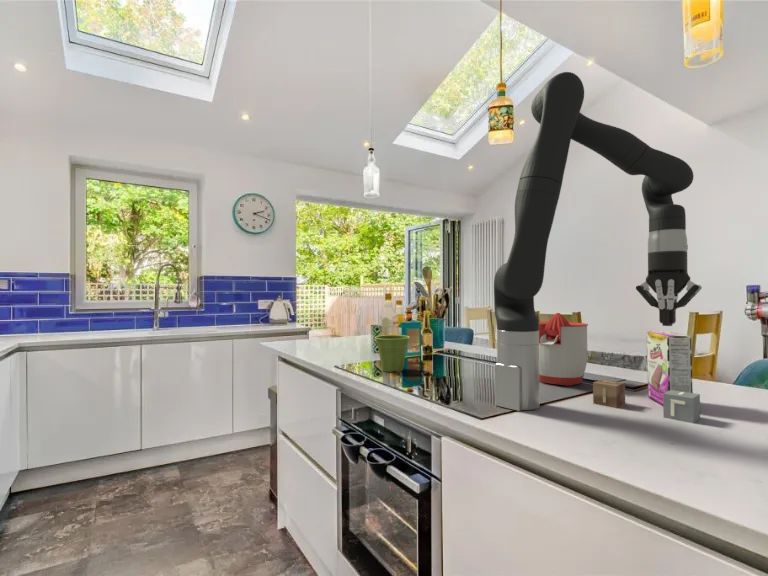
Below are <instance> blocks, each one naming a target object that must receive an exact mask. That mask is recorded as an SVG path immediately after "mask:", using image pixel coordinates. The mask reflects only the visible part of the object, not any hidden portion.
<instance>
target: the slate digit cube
mask: <svg viewBox="0 0 768 576" xmlns="http://www.w3.org/2000/svg"><path fill="white" fill-rule="evenodd" d="M700 399H701V394H700V393H695V392H693V393H688V392H682V391H675V390H670V391H668V392H666V393H664V394H663V405H662V406H663V407H662V408H663V418H664V419H669V420H675V421H679V422H683V423H684V422H685V423H689V424H690V423H691V424H695V423H696V422H697V421H699V420H700V419H701V400H700Z"/></svg>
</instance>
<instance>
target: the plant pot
mask: <svg viewBox="0 0 768 576" xmlns="http://www.w3.org/2000/svg"><path fill="white" fill-rule="evenodd" d="M410 338H411V337H410V336H409V335H403V334H389V335H388V334H386V335H378V336H374V339H375V340H376V345H377V348H378V354H379V360H380V361H379V362H380V367H381V370H382V371H383V372H387V373H392V372H396V373H398V372H402V371H404V367H405V361H406V355H407V354H406V353H407V347H408V343H409V339H410Z"/></svg>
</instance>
